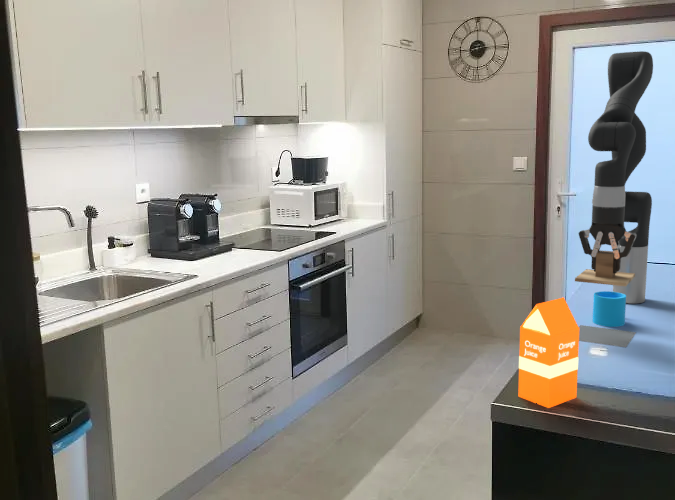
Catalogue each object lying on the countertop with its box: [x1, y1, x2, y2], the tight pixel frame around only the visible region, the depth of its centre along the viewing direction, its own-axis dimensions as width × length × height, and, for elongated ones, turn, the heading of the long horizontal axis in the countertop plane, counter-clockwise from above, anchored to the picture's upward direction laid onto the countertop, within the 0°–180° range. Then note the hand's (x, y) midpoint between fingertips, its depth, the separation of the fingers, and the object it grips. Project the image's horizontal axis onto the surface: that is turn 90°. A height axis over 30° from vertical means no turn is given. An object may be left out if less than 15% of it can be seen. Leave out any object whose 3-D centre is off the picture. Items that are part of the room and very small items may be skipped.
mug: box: [592, 290, 627, 328], centre depth 191 cm, size 12×8×8 cm
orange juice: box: [517, 296, 580, 409], centre depth 139 cm, size 8×9×20 cm
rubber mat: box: [578, 324, 637, 348], centre depth 179 cm, size 14×14×1 cm
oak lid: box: [574, 249, 635, 286], centre depth 176 cm, size 12×12×7 cm
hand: (605, 271), depth 176 cm, fingers closed on oak lid, 4 cm apart
